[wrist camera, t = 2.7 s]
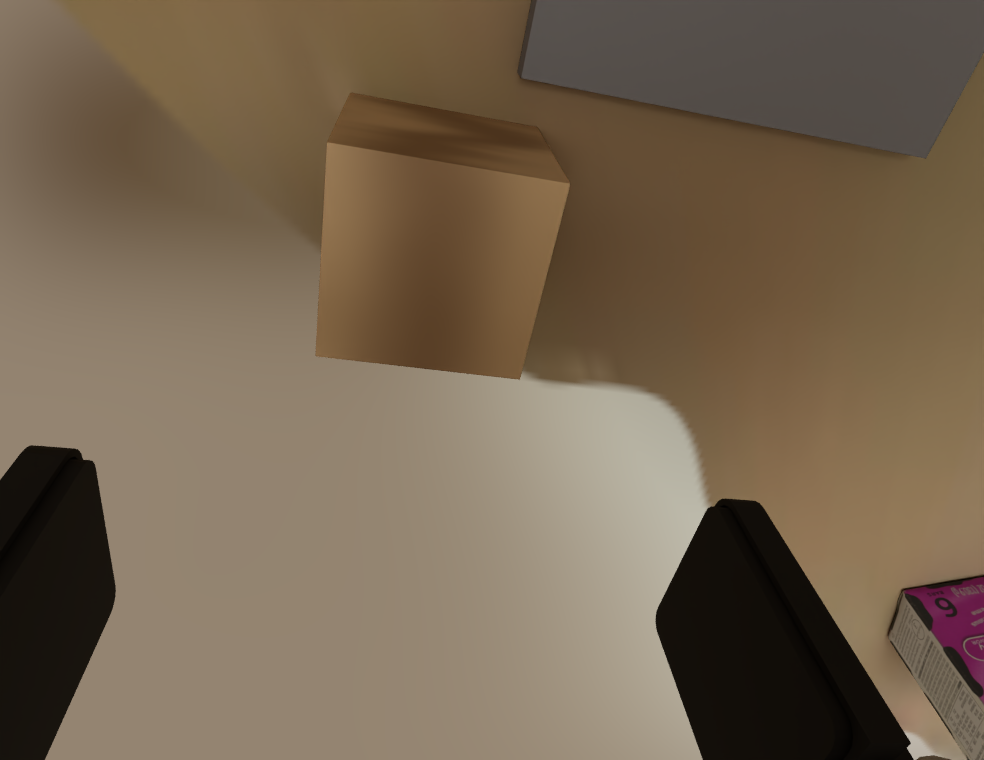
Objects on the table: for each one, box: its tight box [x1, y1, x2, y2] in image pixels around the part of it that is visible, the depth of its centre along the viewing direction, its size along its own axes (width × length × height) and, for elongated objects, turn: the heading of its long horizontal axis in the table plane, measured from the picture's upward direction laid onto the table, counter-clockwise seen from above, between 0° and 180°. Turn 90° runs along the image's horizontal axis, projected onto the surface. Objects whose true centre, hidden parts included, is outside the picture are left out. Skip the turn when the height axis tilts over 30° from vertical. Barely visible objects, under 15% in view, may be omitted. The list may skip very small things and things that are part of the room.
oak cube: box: [316, 93, 570, 379], centre depth 20 cm, size 6×6×6 cm
